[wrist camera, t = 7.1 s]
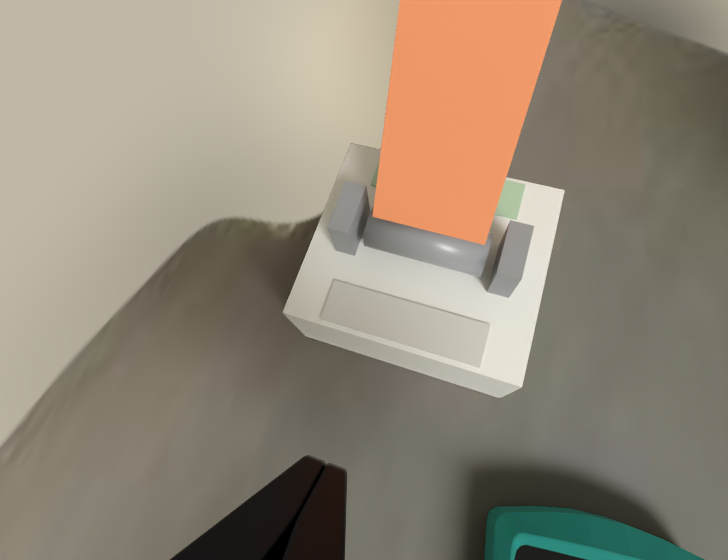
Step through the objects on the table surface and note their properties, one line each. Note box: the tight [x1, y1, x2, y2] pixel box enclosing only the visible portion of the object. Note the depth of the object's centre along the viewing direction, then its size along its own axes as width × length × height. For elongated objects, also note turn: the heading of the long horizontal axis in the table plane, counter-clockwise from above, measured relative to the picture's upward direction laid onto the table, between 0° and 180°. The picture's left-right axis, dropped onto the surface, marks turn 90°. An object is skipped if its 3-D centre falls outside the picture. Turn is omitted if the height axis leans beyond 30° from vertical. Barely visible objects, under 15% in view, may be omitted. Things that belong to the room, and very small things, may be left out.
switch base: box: [283, 143, 565, 398], centre depth 18 cm, size 8×9×6 cm
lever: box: [364, 0, 562, 277], centre depth 14 cm, size 2×4×11 cm
